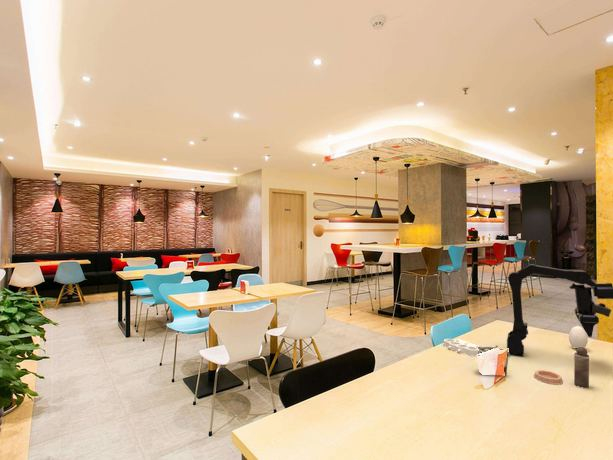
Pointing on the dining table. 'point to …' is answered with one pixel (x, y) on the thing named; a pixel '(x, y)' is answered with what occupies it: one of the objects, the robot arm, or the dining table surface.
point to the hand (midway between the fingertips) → (588, 334)
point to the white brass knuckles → (462, 346)
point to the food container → (484, 349)
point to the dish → (548, 377)
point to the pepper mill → (581, 368)
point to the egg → (578, 337)
